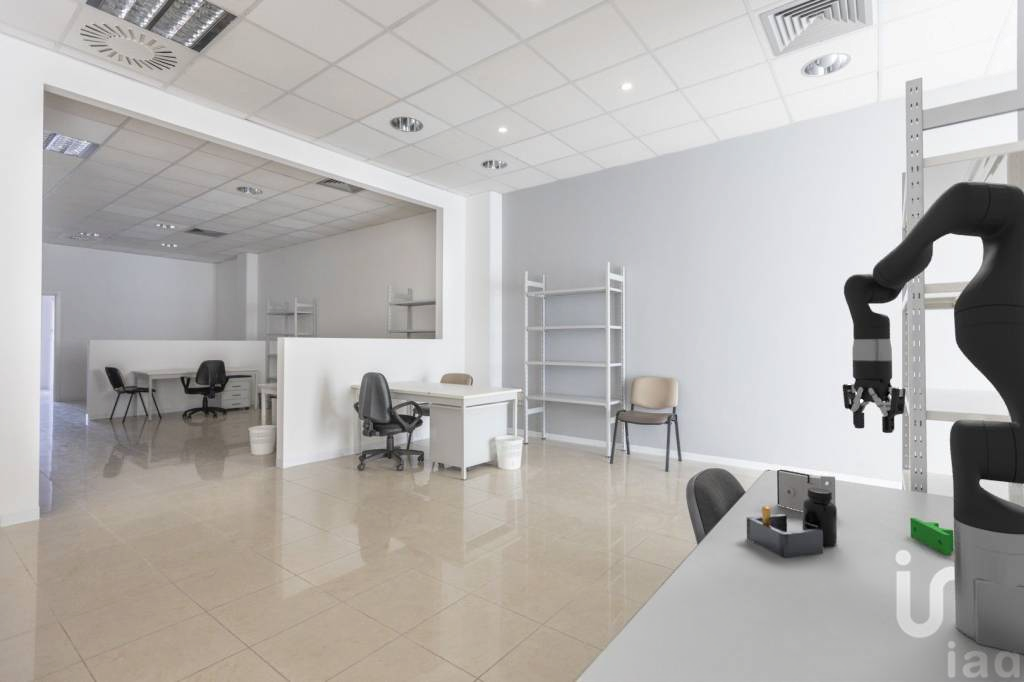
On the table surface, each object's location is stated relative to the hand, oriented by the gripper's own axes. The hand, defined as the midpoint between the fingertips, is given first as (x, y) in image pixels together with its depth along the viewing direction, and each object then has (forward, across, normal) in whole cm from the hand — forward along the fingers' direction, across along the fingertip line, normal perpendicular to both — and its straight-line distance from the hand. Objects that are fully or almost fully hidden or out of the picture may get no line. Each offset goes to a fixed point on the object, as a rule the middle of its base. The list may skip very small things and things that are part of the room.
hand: (873, 430), depth 117 cm
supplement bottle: (+26, +3, +13) cm, 29 cm away
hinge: (+26, +23, -3) cm, 35 cm away
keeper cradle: (+26, +3, +23) cm, 34 cm away
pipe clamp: (+26, -6, -11) cm, 29 cm away
